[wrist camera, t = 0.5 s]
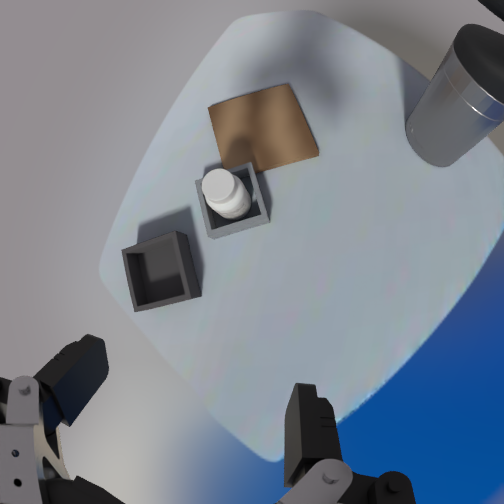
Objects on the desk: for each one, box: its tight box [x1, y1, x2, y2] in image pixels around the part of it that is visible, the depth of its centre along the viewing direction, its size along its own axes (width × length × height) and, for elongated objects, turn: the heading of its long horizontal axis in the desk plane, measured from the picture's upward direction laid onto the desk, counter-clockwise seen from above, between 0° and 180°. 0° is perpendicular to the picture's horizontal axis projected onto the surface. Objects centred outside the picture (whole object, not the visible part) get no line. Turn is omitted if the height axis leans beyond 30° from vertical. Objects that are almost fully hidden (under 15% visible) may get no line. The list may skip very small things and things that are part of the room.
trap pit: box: [122, 231, 201, 312], centre depth 33 cm, size 8×8×4 cm
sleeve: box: [195, 162, 270, 239], centre depth 33 cm, size 7×7×2 cm
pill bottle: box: [202, 169, 251, 220], centre depth 31 cm, size 4×4×8 cm
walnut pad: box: [208, 84, 319, 174], centre depth 34 cm, size 12×12×1 cm
